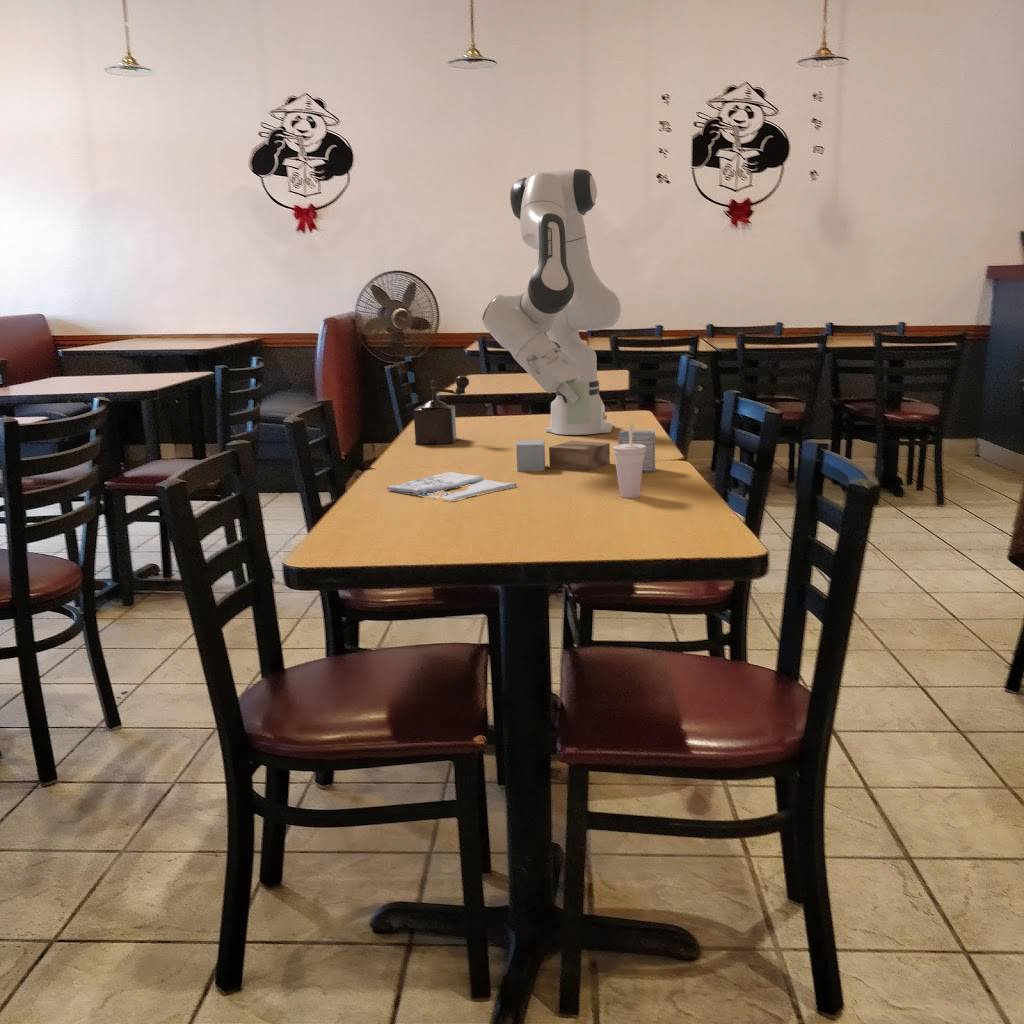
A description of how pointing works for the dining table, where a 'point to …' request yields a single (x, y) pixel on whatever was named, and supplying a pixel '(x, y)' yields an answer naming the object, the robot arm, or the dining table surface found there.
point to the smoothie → (629, 467)
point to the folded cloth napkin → (449, 485)
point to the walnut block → (579, 455)
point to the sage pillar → (579, 404)
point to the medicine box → (645, 439)
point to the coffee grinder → (437, 417)
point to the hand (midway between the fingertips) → (580, 399)
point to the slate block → (530, 455)
